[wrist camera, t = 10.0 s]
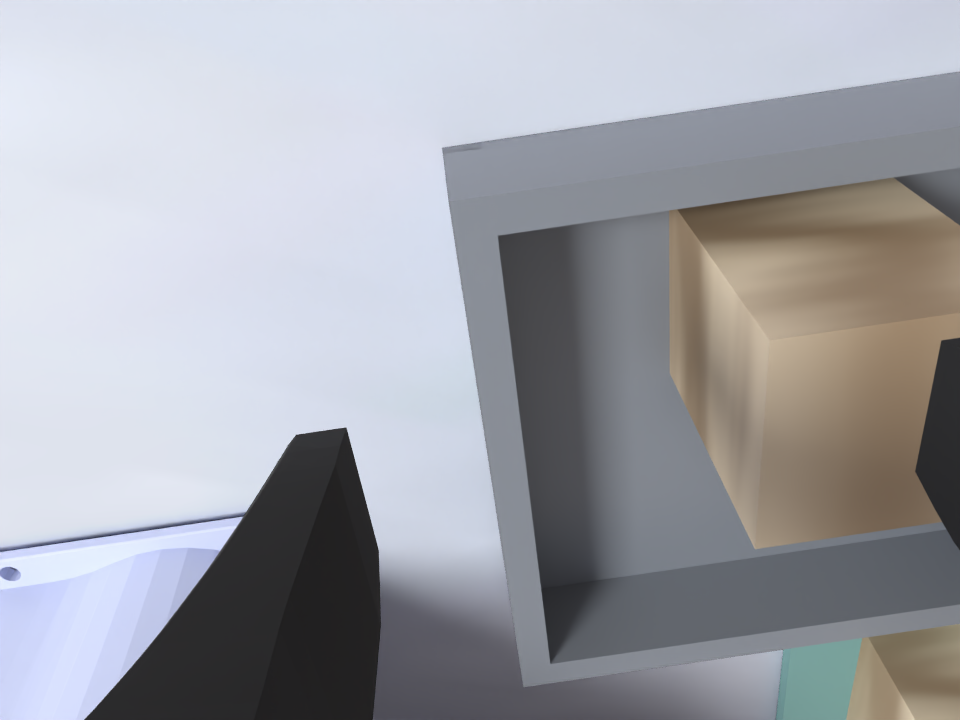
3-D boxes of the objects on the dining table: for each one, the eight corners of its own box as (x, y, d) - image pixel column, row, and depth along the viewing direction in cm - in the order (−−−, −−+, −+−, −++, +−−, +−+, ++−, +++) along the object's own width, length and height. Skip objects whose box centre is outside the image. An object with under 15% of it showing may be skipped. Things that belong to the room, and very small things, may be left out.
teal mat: (772, 755, 31) (777, 768, 30) (790, 583, 26) (796, 595, 25) (1018, 719, 31) (1026, 731, 30) (1082, 540, 26) (1093, 552, 25)
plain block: (669, 373, 21) (754, 549, 16) (668, 198, 18) (769, 340, 13) (854, 346, 21) (999, 513, 16) (879, 167, 18) (1059, 297, 13)
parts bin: (511, 601, 25) (523, 687, 23) (441, 147, 18) (448, 201, 15) (975, 533, 25) (1038, 612, 23) (1102, 50, 18) (1218, 88, 15)
